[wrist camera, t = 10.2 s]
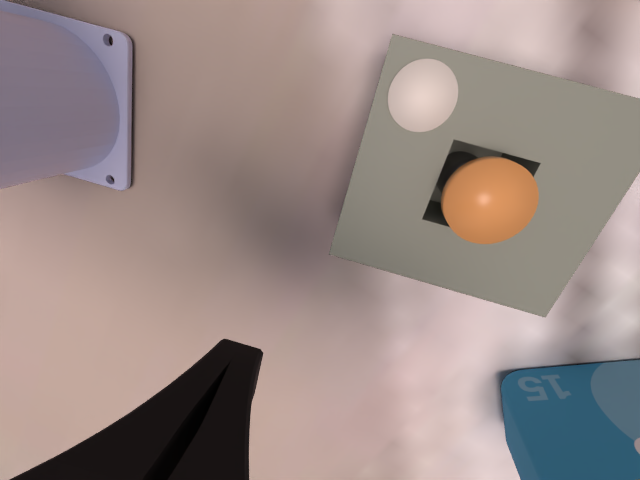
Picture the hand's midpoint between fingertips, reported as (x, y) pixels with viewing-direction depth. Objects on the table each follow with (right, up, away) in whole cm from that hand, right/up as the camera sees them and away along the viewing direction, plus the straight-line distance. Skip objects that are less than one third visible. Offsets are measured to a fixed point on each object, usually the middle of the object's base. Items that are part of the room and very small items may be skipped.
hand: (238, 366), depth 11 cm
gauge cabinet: (+9, +8, +6) cm, 13 cm away
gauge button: (+9, +7, +4) cm, 12 cm away
